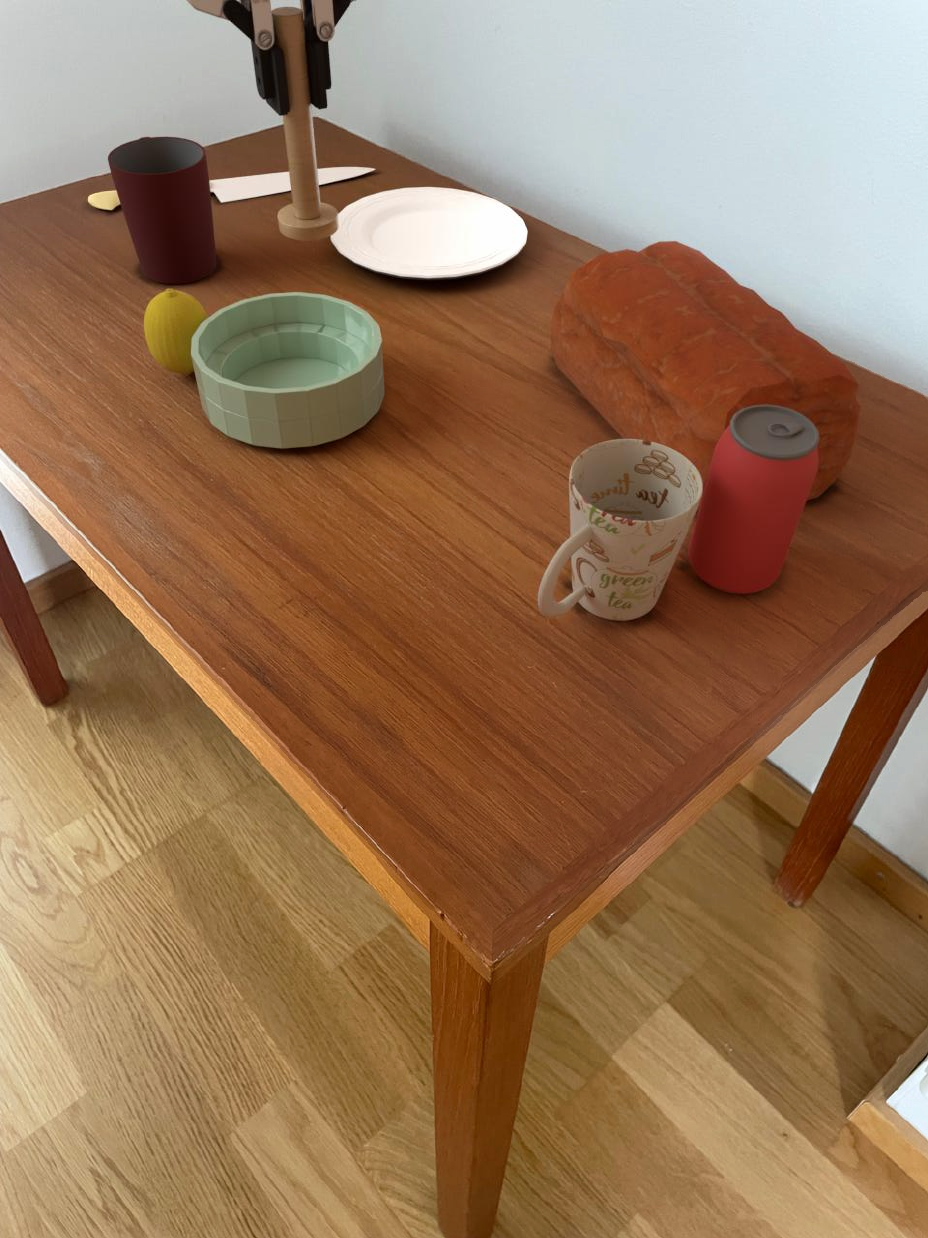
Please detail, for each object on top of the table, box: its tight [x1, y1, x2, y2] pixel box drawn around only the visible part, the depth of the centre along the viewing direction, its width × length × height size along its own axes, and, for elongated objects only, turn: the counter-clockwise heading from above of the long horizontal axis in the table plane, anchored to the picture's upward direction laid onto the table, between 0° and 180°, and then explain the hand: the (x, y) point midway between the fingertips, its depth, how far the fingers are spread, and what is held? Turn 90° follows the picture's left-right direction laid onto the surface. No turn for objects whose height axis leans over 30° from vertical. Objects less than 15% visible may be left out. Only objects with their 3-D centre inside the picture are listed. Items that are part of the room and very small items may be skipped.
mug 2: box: [537, 438, 703, 622], centre depth 63 cm, size 8×13×10 cm, turn 137°
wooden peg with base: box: [271, 6, 339, 242], centre depth 66 cm, size 4×4×14 cm
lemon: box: [143, 288, 209, 377], centre depth 82 cm, size 6×6×8 cm
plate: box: [329, 186, 528, 282], centre depth 102 cm, size 21×21×2 cm
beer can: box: [687, 404, 819, 595], centre depth 65 cm, size 7×7×12 cm
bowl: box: [191, 291, 385, 449], centre depth 80 cm, size 15×15×6 cm
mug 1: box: [107, 136, 217, 285], centre depth 95 cm, size 12×9×11 cm
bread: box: [550, 240, 862, 513], centre depth 78 cm, size 16×27×11 cm, turn 24°
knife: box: [87, 166, 376, 211], centre depth 110 cm, size 1×33×4 cm
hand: (296, 103), depth 65 cm, fingers closed on wooden peg with base, 2 cm apart
